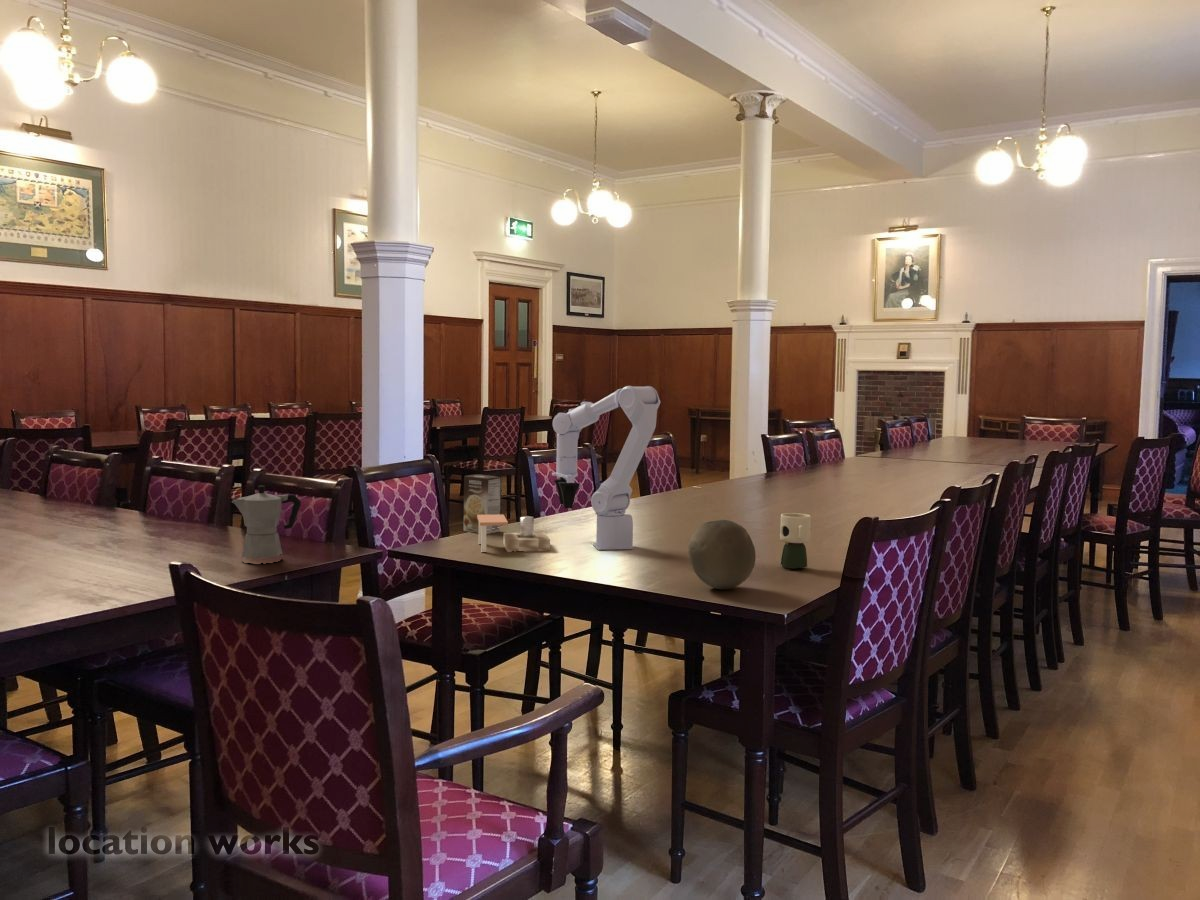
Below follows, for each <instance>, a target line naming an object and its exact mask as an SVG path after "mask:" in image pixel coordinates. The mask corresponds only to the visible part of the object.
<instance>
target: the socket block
mask: <svg viewBox="0 0 1200 900" xmlns="http://www.w3.org/2000/svg"><path fill="white" fill-rule="evenodd" d="M503 546H504V548H505V550H506V552H508V553H511V552H512V551H514V552H512V553H516V551H524V552H550V551H551V538H550V537H549V536H548V535H547V534H546V532H544V531H543V532H540V531H539V532H538V531H537V532H535V531H534V538H520V532H503Z"/></svg>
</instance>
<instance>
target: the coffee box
mask: <svg viewBox="0 0 1200 900" xmlns="http://www.w3.org/2000/svg"><path fill="white" fill-rule="evenodd" d="M463 481H464V482H463V527H462V528H463V531H464V532H470V533H475V532H476V534H479V521H478V519H477V515H501V489H502V488H501V485H502V476H496V475H487V474H478V473H477V474H470V475H464V477H463ZM497 527H500V528H501V525H492V526H486V535H489V534H496V533H498V532H499V533H500V530H501V529H500V528H497ZM492 528H495V529H492ZM487 529H490V530H487Z"/></svg>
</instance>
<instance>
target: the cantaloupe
mask: <svg viewBox="0 0 1200 900" xmlns="http://www.w3.org/2000/svg"><path fill="white" fill-rule="evenodd" d="M688 558H689V562H690V565H691V568H692V570H693V572H694V573H695V574H696V576H697V577H698V579H700V581H701V582H702V583H703V584H705V585H707V586H709V587H711V588H712V589H715V590H729V589H733V588H737V587H738V586H739V585H741V584H742V583H744V582H745V581H746V580H747V579H748V578H749V577H750V575H751V574H752V572H753V570H754V567H755V565H756V558H757V556H756V547H755V545H754V542H753V540H752V538H751V535H750V534H749V533H748V531H747V529H746V528H744V527H743V525H740V524H738V523H737V522H734V521H731V520H727V519H721V520H714V521H713V520H712V521H708V522H704V523H703V524H701V525H699V526H698V527H697V528H696V530H695V531H694V533H693V534H692V535H691V537H690V539H689V542H688Z"/></svg>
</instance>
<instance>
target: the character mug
mask: <svg viewBox="0 0 1200 900" xmlns="http://www.w3.org/2000/svg"><path fill="white" fill-rule="evenodd" d="M811 522H812V516H811V515H810V514H808V513H798V512H784V513H781V514H780V527H779V530H780V531H779V539H780V541H782V542H784V543H785V544H784V545H783V549H782V554H781V559H780V566H781V567H782V568H786V569H794V568H795V569H796V570H797V569H798V568H802V569H803V568H808V553H807V548H806V545H805V543H809V542H810V541H811V527H812V526H811V525H812V523H811ZM795 569H794V570H795Z"/></svg>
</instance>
